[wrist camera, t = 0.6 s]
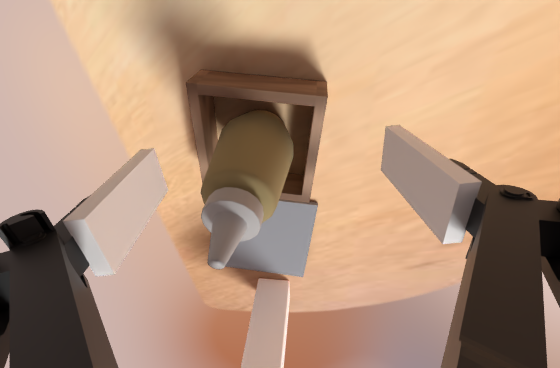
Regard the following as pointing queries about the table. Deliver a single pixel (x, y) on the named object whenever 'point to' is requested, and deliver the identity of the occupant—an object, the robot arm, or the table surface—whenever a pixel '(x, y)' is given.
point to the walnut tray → (260, 90)
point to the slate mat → (279, 241)
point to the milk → (268, 325)
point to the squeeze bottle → (244, 181)
